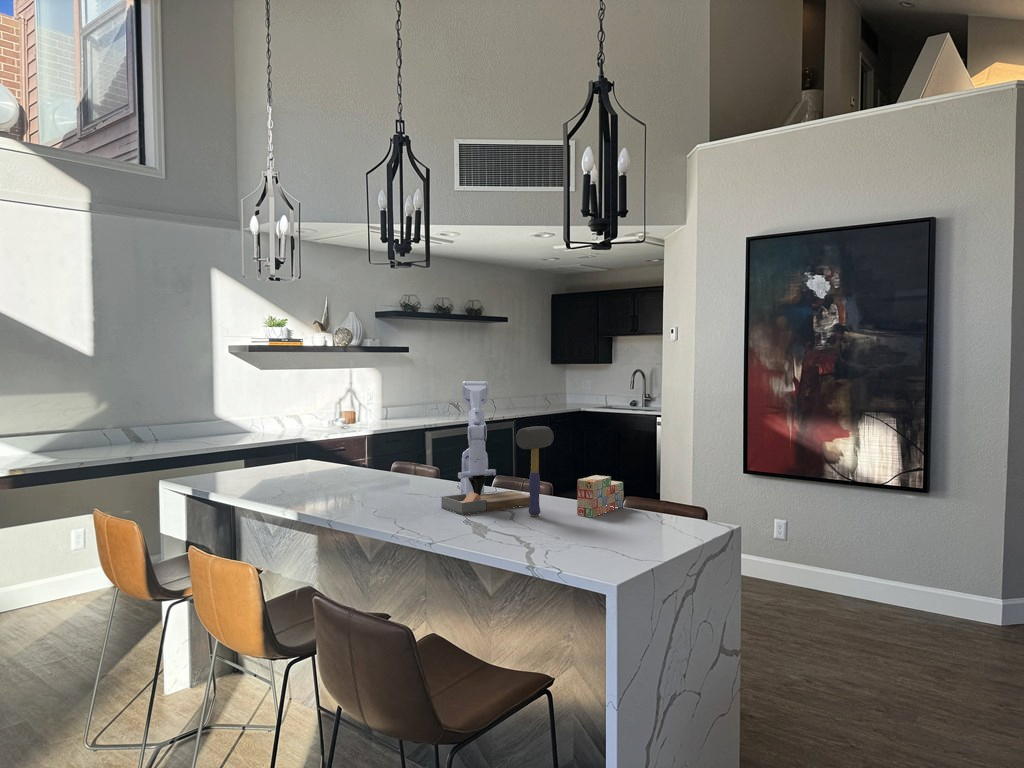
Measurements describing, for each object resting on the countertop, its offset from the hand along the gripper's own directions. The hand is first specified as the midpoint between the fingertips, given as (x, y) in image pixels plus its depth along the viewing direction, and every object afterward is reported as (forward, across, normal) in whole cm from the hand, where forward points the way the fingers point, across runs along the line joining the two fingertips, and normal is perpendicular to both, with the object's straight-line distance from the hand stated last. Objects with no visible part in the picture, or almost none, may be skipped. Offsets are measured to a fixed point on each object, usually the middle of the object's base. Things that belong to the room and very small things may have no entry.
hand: (477, 497), depth 249 cm
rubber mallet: (+4, +8, -22) cm, 24 cm away
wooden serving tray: (+4, +10, 0) cm, 10 cm away
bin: (+4, -6, 0) cm, 7 cm away
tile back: (+2, -2, 0) cm, 2 cm away
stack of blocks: (+4, +33, -28) cm, 43 cm away
